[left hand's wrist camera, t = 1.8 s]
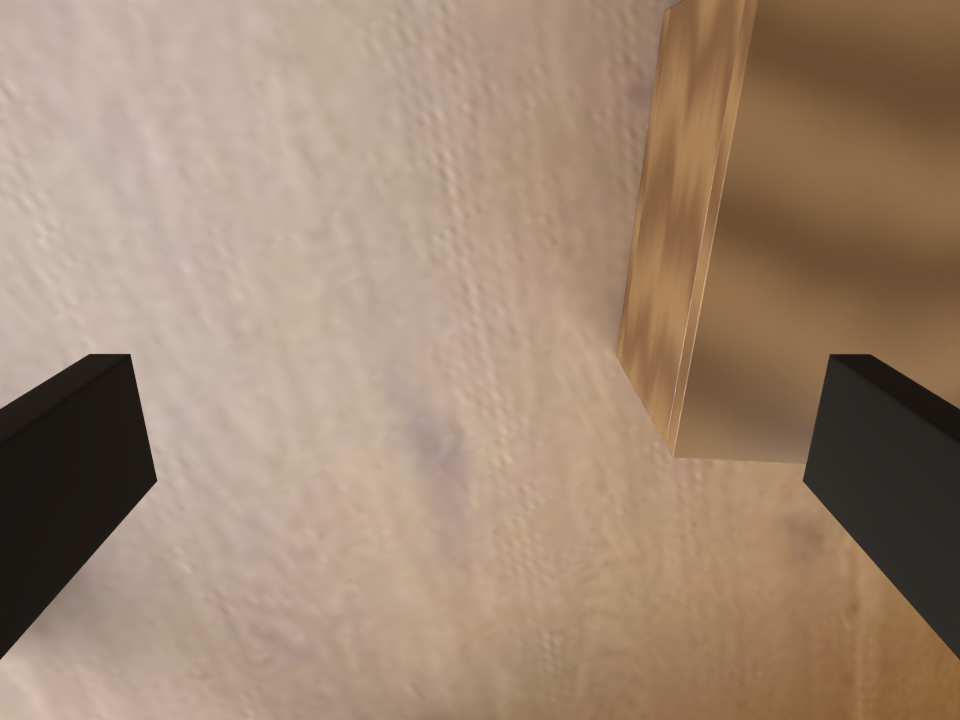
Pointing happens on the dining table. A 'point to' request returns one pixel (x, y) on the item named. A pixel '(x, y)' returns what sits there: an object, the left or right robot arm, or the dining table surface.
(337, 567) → the dining table surface
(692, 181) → the cabinet
